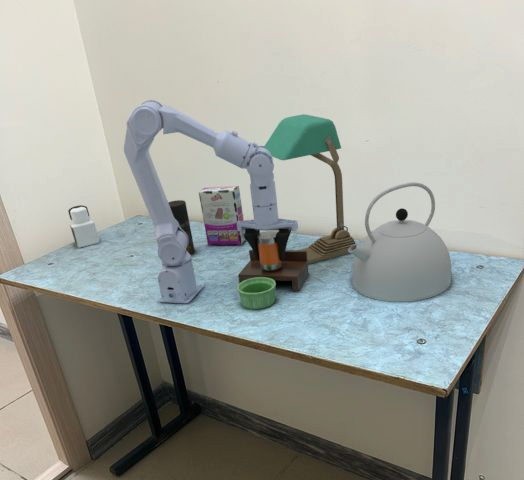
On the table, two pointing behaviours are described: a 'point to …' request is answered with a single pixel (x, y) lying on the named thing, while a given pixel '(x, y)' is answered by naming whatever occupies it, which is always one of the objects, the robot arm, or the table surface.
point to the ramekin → (257, 292)
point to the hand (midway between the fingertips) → (270, 258)
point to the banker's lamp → (313, 143)
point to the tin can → (268, 251)
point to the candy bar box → (222, 215)
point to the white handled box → (82, 227)
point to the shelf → (280, 269)
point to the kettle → (401, 258)
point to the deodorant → (183, 221)
